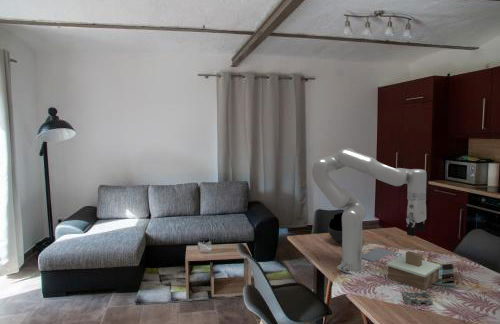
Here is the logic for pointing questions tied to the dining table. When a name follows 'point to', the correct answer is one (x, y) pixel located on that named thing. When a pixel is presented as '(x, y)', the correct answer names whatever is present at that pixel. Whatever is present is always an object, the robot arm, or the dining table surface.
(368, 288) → the dining table surface
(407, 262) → the lid
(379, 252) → the mat
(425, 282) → the box
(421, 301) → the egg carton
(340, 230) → the coal bowl
